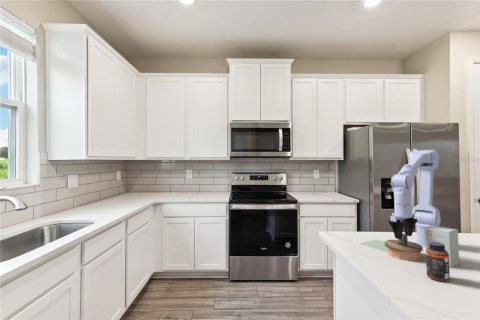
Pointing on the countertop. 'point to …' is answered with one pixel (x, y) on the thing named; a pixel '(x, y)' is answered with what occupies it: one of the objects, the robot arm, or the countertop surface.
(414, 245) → the lid
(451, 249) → the small box
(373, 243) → the mat
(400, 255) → the bowl
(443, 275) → the supplement bottle
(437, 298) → the countertop surface
